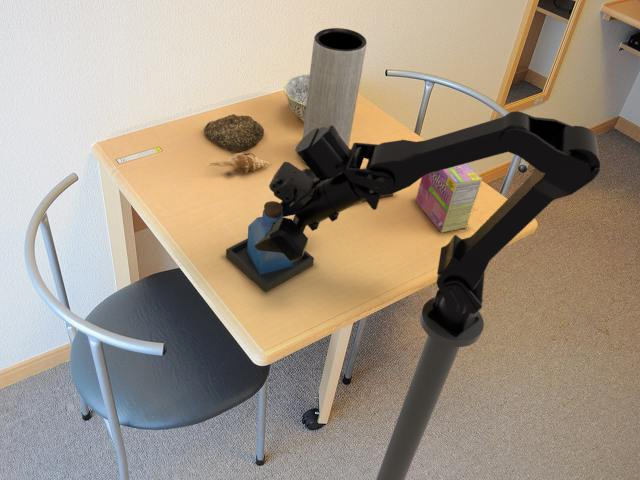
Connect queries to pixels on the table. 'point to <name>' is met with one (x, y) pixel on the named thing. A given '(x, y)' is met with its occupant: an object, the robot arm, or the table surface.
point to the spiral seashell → (242, 162)
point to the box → (449, 196)
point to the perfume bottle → (258, 231)
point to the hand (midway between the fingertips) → (264, 231)
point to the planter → (334, 80)
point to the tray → (267, 280)
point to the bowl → (297, 94)
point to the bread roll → (234, 132)
